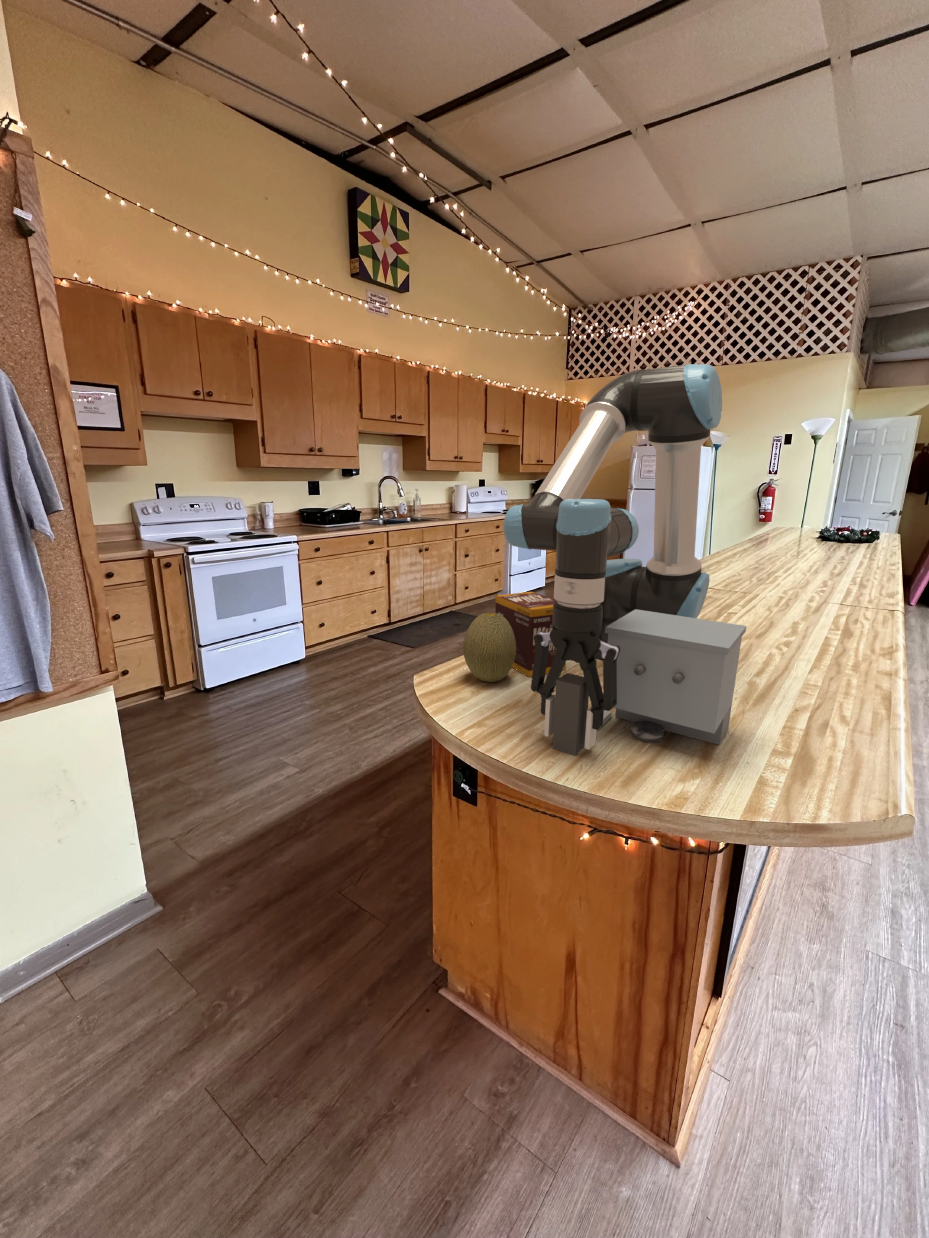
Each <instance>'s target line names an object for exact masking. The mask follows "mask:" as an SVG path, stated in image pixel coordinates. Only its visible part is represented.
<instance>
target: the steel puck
mask: <svg viewBox="0 0 929 1238" xmlns="http://www.w3.org/2000/svg"><path fill="white" fill-rule="evenodd" d="M630 735H631V737H632V738H634V739H635V740H638V741H640V742H643V743H650V744H651V743H653V744H654V743H660V742H662V741H664V738H665V730H664V728H663V727H662V726H661V725H659V724H657V723H655V722H651V721H636V722H632V723H631V724H630Z"/></svg>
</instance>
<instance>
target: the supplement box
mask: <svg viewBox="0 0 929 1238" xmlns="http://www.w3.org/2000/svg"><path fill="white" fill-rule="evenodd" d="M555 602H556V600H555V599H554V598H551V597H549V596H545V595H543V594H540V593H536V592H534V591H526V592H525V591H524V592H516V593H507V594H498V595H495V611H494V613H497V614H500V615H502V616H503V617H504V618H505V619H506V620H507V621H508V622H509V624H510V626H511V628H512V630H513V633H514V636H515V641H516V654H515V659H514V663H513V665H512V667H513V668H512V669H514V668H515V669H517V670H518V672H519V671H520V672H522V673H523V675H524V674H525V675H524V676H526V677H527V676H528V677H527V678H530V677H531V678H532V674H533V666H534V658H535V650H536V648H535V642H534V636H535V635H536V634H538V633H541V632H543V631H545V632H546V633H550V632H551V630H552V628H553V624H552V619H553V604H554V603H555ZM556 651H557V650H556V648H555V646H554V645H553V643H552V641H551V643H550V645H549V652H548V659H547V666H546V674H545V675H548V673H549V671H550V668H551V666H552V663H553V658H554V656H555V653H556ZM566 665H567V662H566V663H565V665H564V668H563V670H562V671H566ZM515 669H514V670H515ZM517 670H516V671H517ZM520 672H519V673H520ZM522 673H521V674H522Z"/></svg>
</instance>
